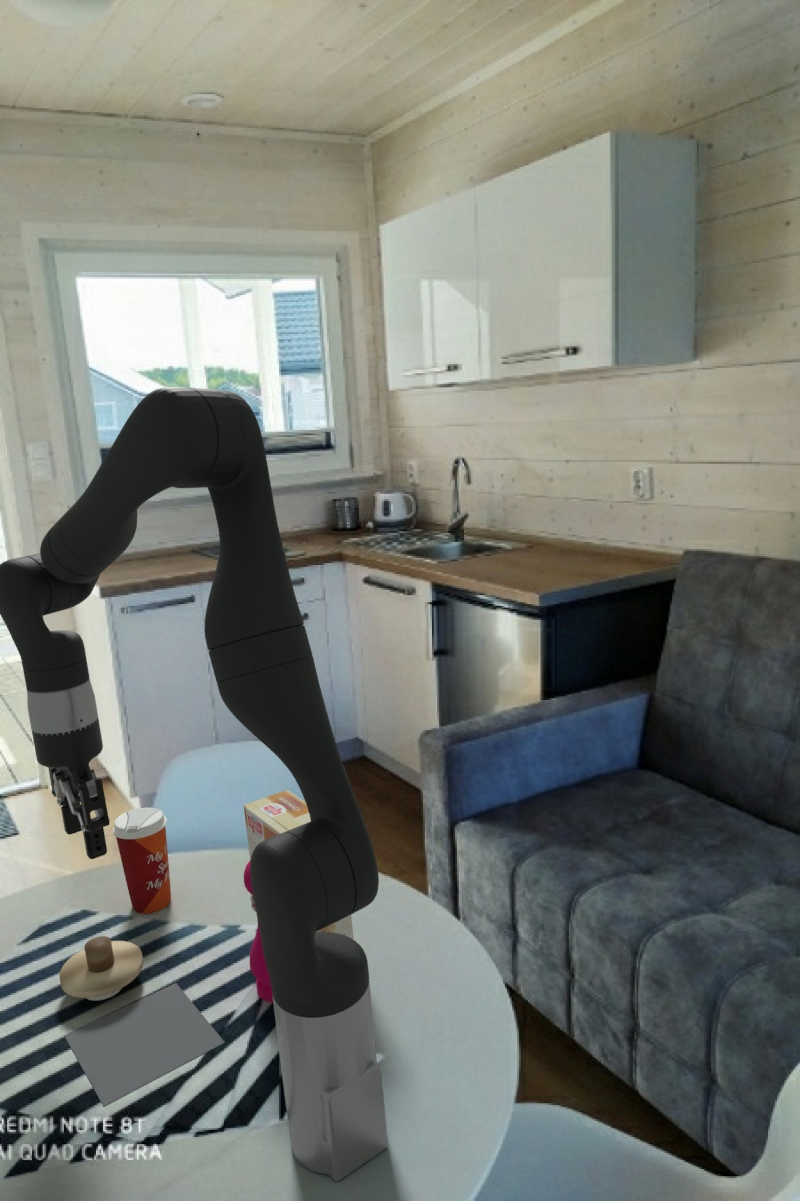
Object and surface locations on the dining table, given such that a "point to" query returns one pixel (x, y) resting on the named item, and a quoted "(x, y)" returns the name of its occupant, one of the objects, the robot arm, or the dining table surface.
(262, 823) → the coffeecake box
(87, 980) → the lid
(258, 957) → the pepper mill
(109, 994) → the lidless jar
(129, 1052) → the mat
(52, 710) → the robot arm
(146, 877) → the paper cup
